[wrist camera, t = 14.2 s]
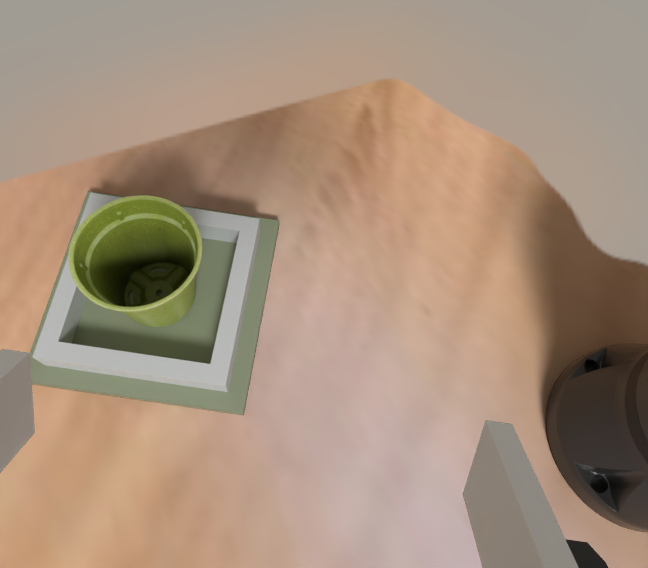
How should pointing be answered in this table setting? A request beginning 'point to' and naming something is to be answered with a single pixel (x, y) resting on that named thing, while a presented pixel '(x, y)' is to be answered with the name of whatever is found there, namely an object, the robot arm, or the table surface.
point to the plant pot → (138, 258)
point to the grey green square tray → (170, 341)
